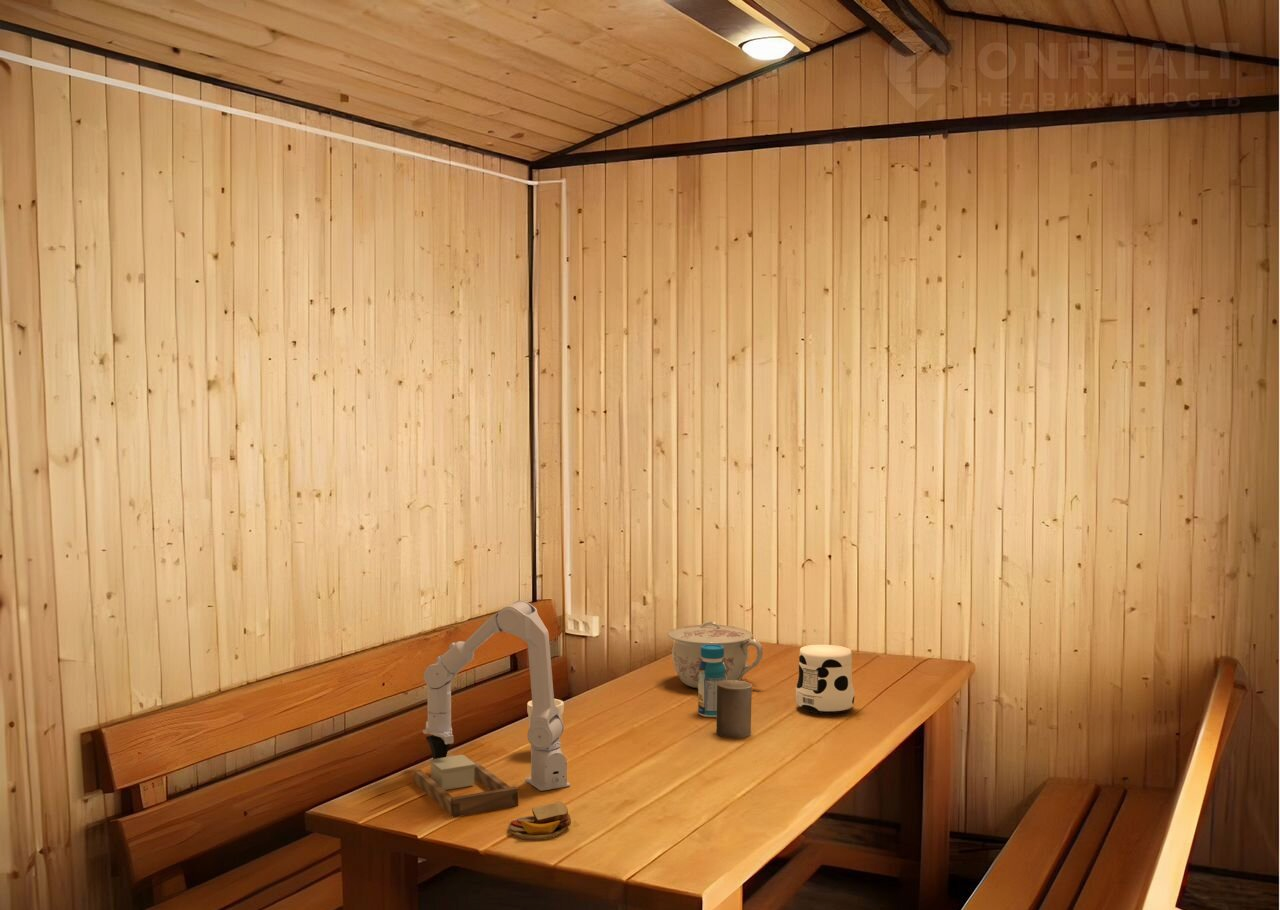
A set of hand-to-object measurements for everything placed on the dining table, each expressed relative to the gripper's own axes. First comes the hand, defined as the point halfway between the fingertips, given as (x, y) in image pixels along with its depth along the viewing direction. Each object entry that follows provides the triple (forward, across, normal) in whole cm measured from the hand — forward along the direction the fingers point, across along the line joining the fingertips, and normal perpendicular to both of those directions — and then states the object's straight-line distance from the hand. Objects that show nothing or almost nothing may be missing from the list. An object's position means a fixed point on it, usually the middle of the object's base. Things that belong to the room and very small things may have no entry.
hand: (439, 765), depth 292 cm
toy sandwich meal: (+2, +46, +6) cm, 46 cm away
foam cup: (+2, -3, +30) cm, 30 cm away
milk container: (+2, -1, +120) cm, 120 cm away
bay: (+2, +17, 0) cm, 17 cm away
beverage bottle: (+2, -13, +88) cm, 89 cm away
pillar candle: (+2, +6, +83) cm, 83 cm away
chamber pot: (+2, -42, +106) cm, 114 cm away
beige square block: (+2, +9, 0) cm, 9 cm away
